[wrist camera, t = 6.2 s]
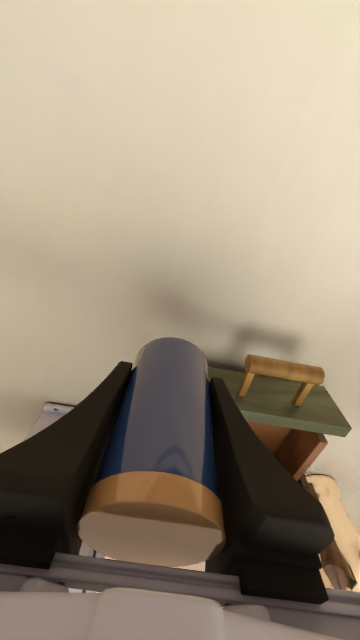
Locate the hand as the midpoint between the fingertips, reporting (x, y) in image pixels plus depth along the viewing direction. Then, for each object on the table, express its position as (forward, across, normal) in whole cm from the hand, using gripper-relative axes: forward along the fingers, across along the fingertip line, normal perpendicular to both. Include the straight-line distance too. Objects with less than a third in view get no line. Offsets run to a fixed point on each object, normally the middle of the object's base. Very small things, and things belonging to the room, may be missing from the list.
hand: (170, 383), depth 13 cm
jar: (+1, 0, 0) cm, 1 cm away
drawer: (+8, -9, +9) cm, 15 cm away
